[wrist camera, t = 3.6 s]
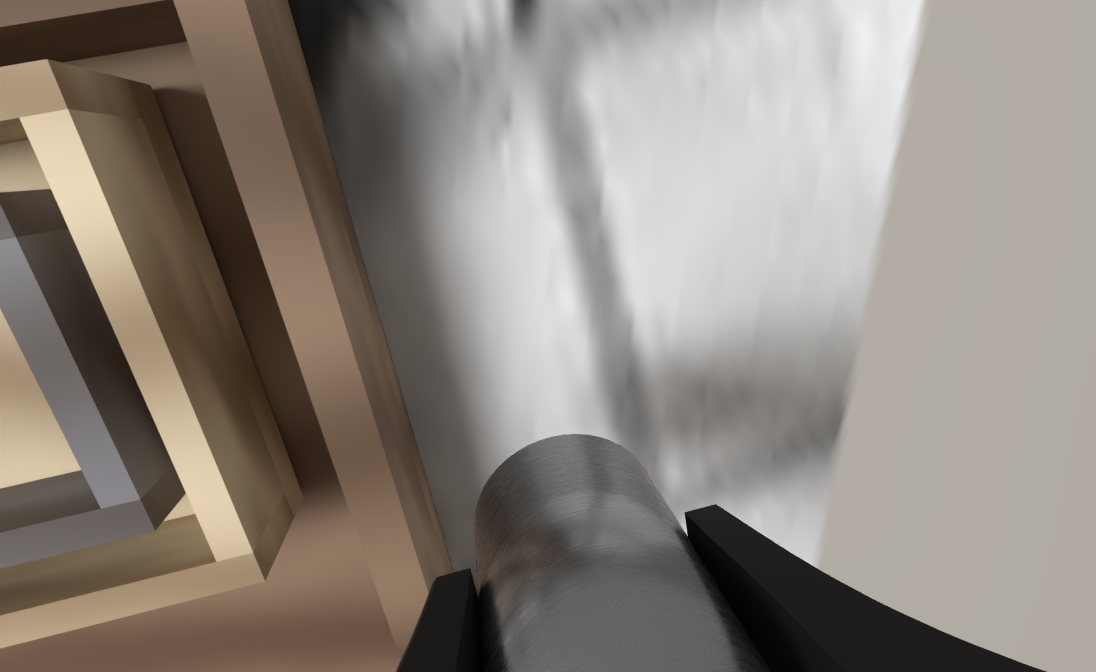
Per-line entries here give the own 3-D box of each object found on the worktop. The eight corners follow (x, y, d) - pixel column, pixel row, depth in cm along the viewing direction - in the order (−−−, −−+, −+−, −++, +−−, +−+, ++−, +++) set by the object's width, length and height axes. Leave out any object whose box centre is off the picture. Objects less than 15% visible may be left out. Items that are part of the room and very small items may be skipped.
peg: (667, 569, 13) (823, 871, 8) (496, 615, 13) (528, 966, 7) (643, 414, 12) (810, 636, 6) (455, 460, 12) (454, 738, 6)
